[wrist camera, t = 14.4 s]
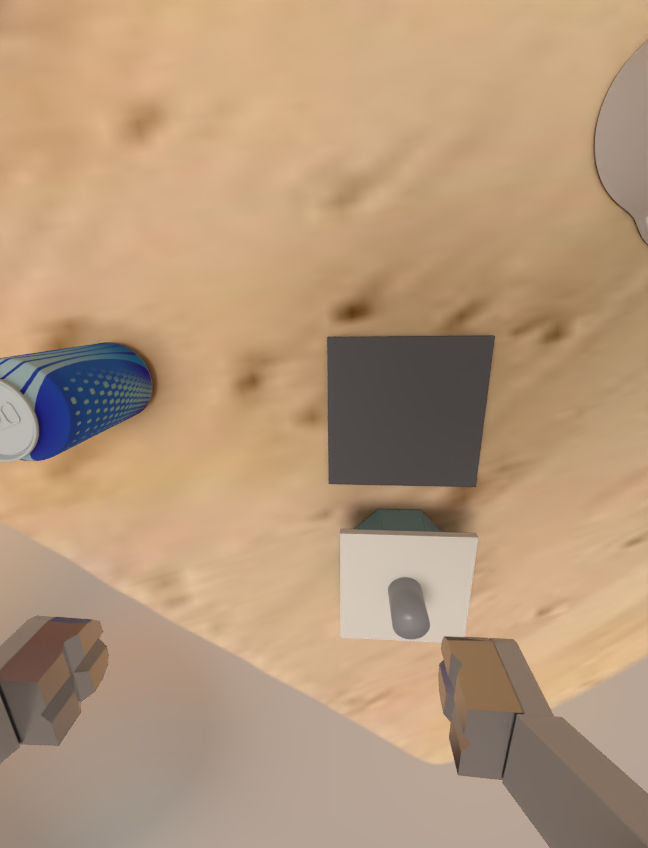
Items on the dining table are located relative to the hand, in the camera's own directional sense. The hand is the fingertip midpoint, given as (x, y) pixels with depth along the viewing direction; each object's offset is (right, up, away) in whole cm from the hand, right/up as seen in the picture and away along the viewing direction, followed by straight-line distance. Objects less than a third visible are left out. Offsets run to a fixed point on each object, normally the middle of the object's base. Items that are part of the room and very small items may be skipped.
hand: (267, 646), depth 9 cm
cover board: (+10, -13, +32) cm, 36 cm away
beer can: (-22, +10, +33) cm, 41 cm away
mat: (+10, +6, +32) cm, 34 cm away
